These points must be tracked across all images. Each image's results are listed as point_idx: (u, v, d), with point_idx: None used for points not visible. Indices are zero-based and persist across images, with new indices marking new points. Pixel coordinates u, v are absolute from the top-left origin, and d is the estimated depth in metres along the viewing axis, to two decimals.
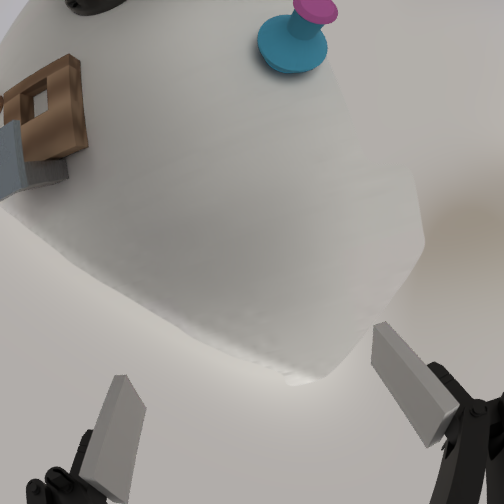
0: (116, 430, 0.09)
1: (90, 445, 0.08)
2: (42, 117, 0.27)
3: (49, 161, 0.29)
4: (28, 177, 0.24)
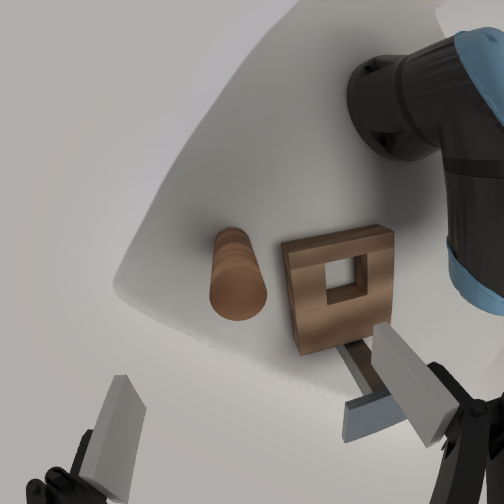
0: (116, 430, 0.09)
1: (90, 445, 0.08)
2: (359, 301, 0.34)
3: (365, 344, 0.36)
4: None
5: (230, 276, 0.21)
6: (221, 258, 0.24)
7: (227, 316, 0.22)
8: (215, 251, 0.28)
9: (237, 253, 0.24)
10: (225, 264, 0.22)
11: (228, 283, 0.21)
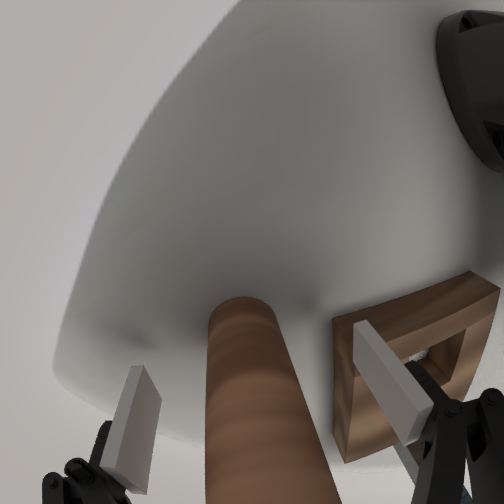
0: (135, 419, 0.10)
1: (110, 435, 0.08)
2: None
3: None
4: None
5: None
6: (228, 448, 0.07)
7: None
8: (210, 381, 0.11)
9: (272, 436, 0.07)
10: (246, 497, 0.05)
11: None
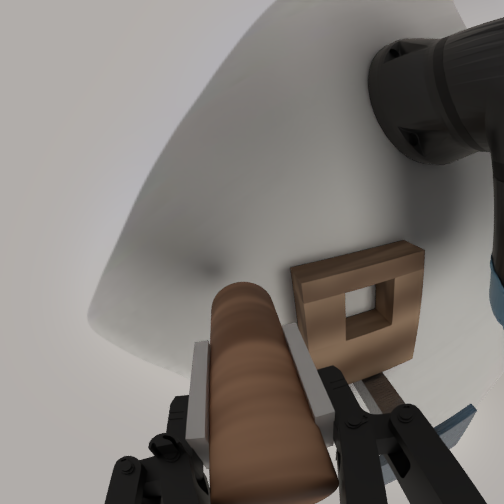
0: None
1: (190, 407, 0.10)
2: (382, 332, 0.27)
3: (385, 378, 0.29)
4: None
5: (260, 485, 0.06)
6: (230, 401, 0.09)
7: None
8: (214, 351, 0.13)
9: (267, 389, 0.09)
10: (244, 439, 0.07)
11: (255, 492, 0.06)
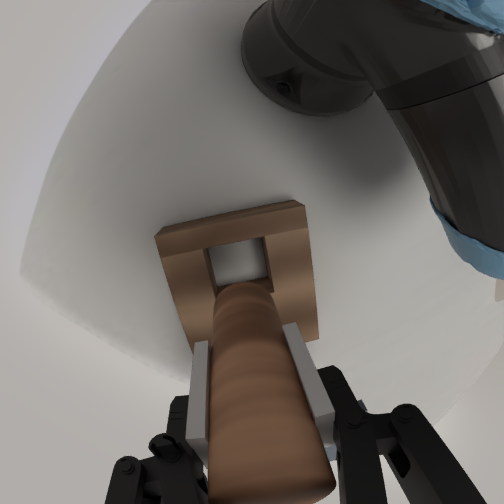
0: (209, 391, 0.12)
1: (190, 407, 0.10)
2: None
3: None
4: None
5: (257, 484, 0.06)
6: (229, 401, 0.09)
7: None
8: (215, 350, 0.13)
9: (266, 389, 0.10)
10: (242, 438, 0.07)
11: (252, 491, 0.06)
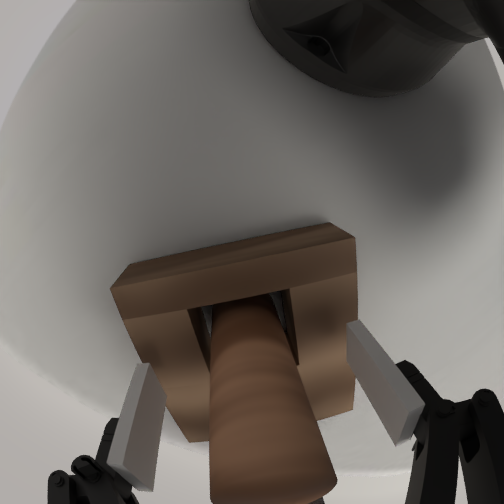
0: (141, 416, 0.10)
1: (117, 432, 0.09)
2: None
3: None
4: None
5: (260, 481, 0.06)
6: (230, 399, 0.09)
7: None
8: (215, 349, 0.14)
9: (267, 387, 0.10)
10: (244, 436, 0.08)
11: (254, 488, 0.06)
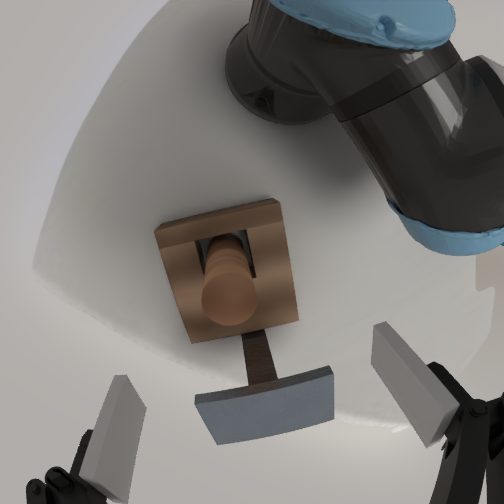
0: (116, 430, 0.09)
1: (90, 445, 0.08)
2: None
3: None
4: None
5: (221, 282, 0.21)
6: (213, 264, 0.25)
7: (219, 321, 0.22)
8: (208, 257, 0.29)
9: (228, 259, 0.25)
10: (216, 270, 0.23)
11: (219, 289, 0.21)
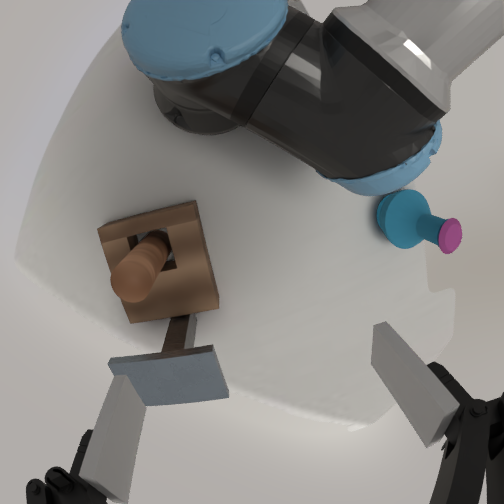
0: (116, 430, 0.09)
1: (90, 445, 0.08)
2: (170, 274, 0.37)
3: (189, 320, 0.39)
4: None
5: (122, 268, 0.26)
6: (127, 255, 0.29)
7: (125, 298, 0.27)
8: None
9: (138, 251, 0.29)
10: (124, 259, 0.27)
11: (121, 273, 0.26)
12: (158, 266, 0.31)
